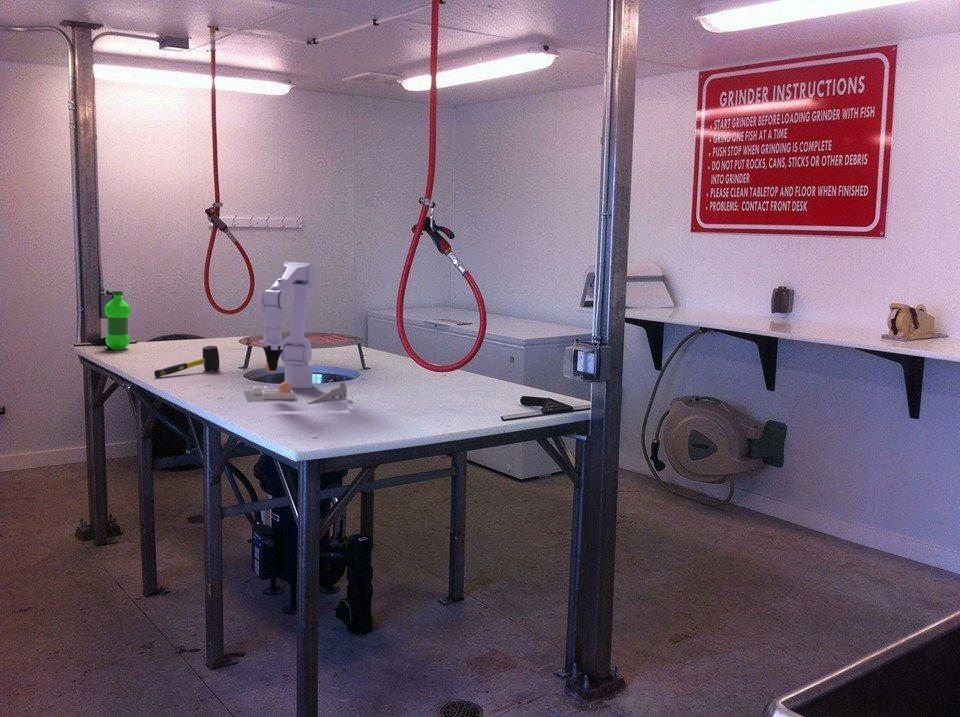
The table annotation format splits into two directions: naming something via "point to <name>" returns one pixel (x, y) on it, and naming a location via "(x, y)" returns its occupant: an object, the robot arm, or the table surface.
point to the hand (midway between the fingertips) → (271, 369)
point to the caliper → (332, 393)
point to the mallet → (195, 362)
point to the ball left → (285, 387)
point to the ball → (268, 368)
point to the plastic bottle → (117, 321)
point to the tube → (258, 389)
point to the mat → (258, 398)
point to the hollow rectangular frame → (277, 394)
